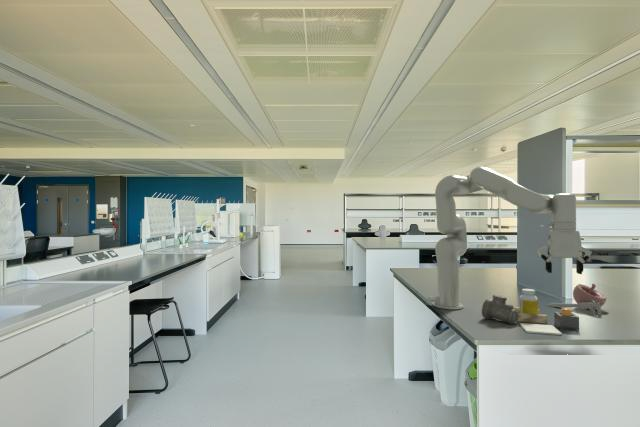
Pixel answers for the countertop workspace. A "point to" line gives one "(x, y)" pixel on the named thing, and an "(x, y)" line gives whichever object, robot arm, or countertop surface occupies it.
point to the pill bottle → (528, 302)
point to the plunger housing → (566, 321)
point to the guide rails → (531, 317)
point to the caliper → (582, 305)
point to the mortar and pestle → (588, 295)
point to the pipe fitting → (499, 310)
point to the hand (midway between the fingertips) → (564, 273)
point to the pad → (540, 329)
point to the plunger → (566, 312)
